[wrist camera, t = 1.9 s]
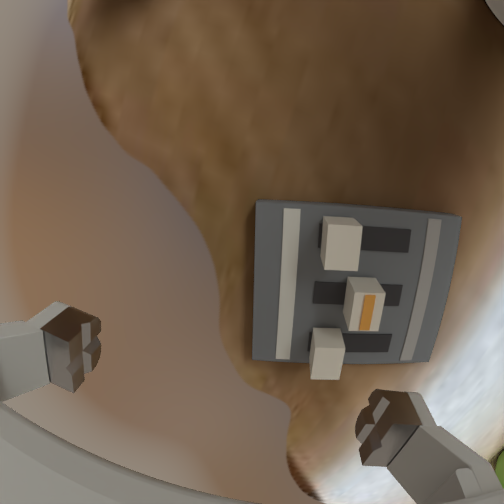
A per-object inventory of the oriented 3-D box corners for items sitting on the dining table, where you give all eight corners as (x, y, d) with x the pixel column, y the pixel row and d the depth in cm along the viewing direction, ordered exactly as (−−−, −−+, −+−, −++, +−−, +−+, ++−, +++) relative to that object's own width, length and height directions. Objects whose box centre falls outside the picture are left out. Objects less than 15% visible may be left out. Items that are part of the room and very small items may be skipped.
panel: (453, 213, 30) (462, 217, 28) (423, 353, 36) (429, 362, 33) (257, 199, 33) (255, 202, 31) (253, 350, 38) (251, 360, 36)
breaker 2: (340, 328, 33) (345, 348, 29) (335, 358, 34) (339, 379, 30) (313, 327, 33) (315, 347, 30) (309, 357, 35) (310, 379, 31)
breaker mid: (375, 277, 31) (386, 294, 27) (369, 312, 32) (378, 332, 28) (347, 276, 31) (355, 293, 27) (342, 312, 33) (348, 331, 29)
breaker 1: (353, 217, 30) (362, 226, 26) (349, 257, 31) (357, 271, 27) (323, 215, 30) (328, 224, 26) (320, 256, 31) (324, 269, 27)
